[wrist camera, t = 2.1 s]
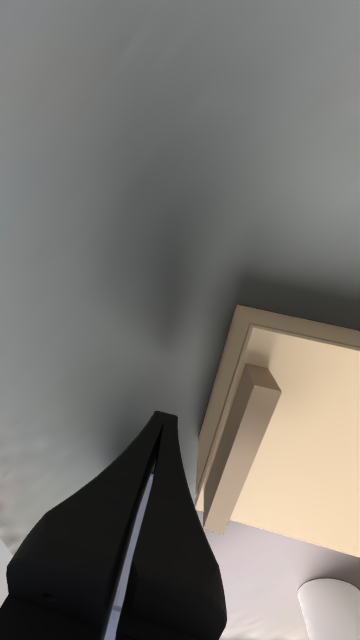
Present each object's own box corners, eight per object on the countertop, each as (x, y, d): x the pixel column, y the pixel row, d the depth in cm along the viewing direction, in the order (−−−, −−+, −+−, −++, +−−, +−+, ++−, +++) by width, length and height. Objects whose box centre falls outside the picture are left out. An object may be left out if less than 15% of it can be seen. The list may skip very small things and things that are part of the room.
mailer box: (365, 483, 19) (419, 559, 14) (198, 439, 20) (195, 495, 15) (453, 350, 14) (575, 394, 10) (236, 304, 16) (249, 322, 11)
